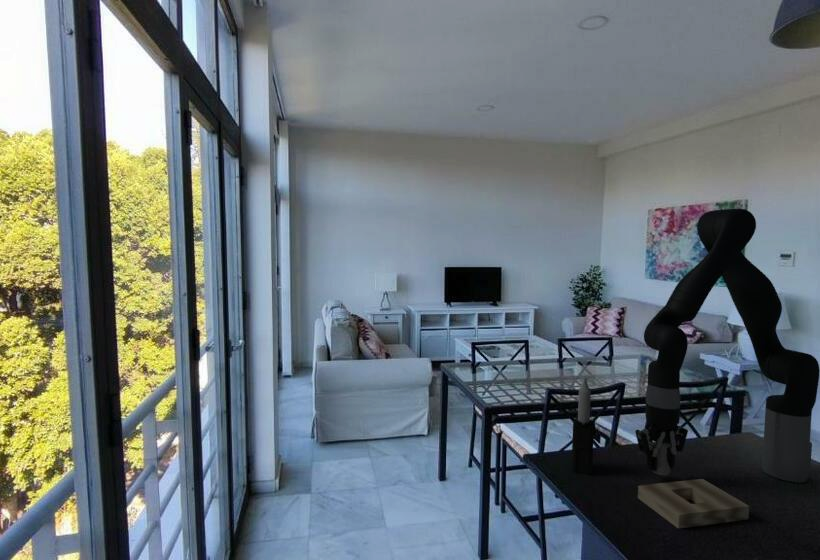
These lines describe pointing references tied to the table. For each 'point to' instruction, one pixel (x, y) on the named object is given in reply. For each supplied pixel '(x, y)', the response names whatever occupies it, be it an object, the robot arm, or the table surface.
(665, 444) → the rook chess piece
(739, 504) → the socket board
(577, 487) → the table surface
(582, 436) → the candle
